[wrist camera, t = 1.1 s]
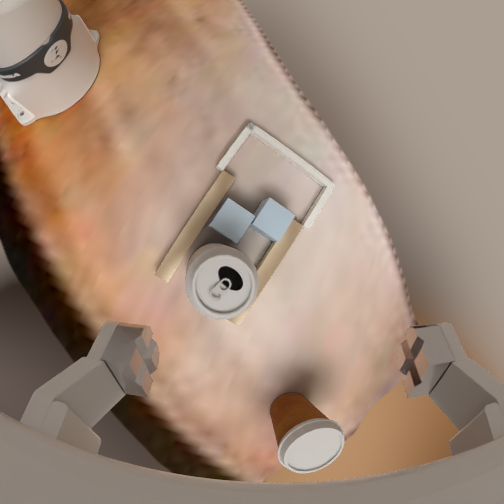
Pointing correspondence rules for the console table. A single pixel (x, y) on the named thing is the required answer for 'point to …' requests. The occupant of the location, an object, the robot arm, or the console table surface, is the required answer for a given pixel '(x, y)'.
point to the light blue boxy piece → (231, 220)
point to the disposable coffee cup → (304, 434)
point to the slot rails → (198, 222)
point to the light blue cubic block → (271, 220)
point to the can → (221, 281)
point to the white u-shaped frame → (293, 159)
